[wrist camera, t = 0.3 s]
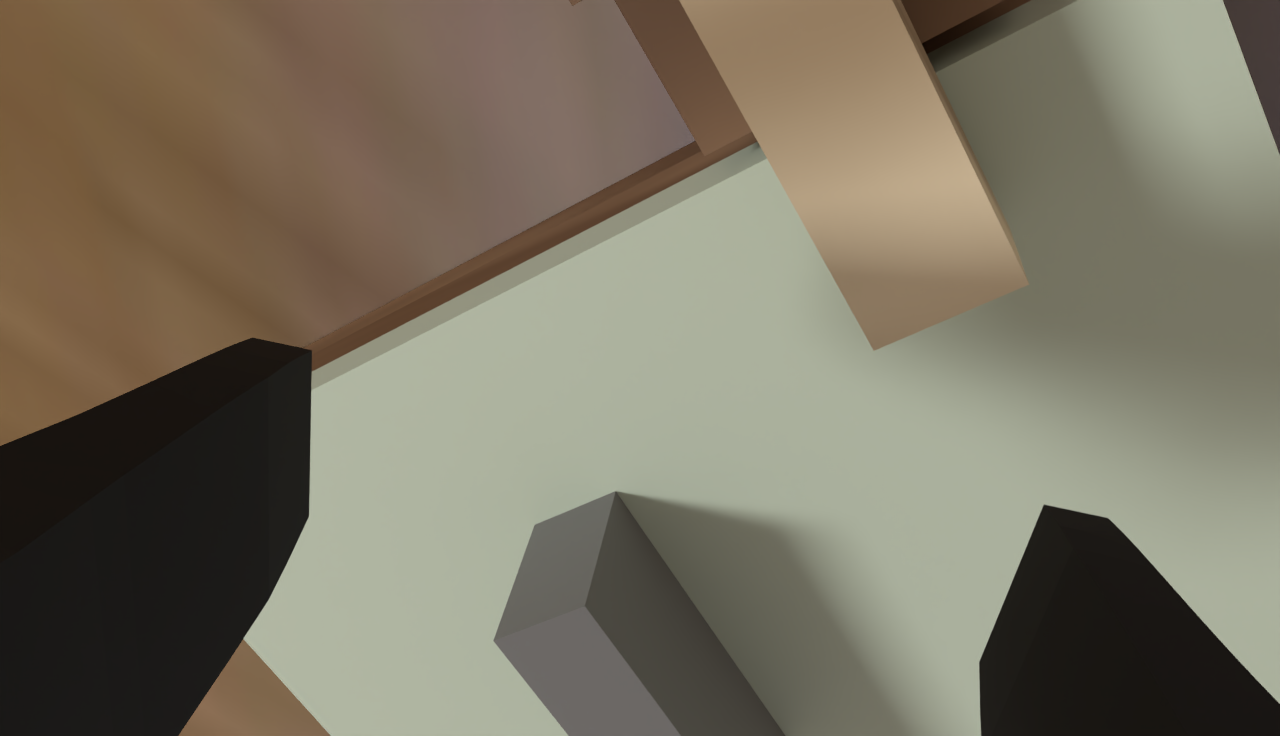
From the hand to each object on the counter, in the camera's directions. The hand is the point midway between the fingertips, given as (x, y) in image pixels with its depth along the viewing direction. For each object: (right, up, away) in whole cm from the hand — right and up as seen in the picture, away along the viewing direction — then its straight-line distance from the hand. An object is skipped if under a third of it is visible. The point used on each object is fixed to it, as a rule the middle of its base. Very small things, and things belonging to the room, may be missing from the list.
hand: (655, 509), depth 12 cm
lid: (+2, -2, +9) cm, 9 cm away
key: (+2, +6, +3) cm, 7 cm away
